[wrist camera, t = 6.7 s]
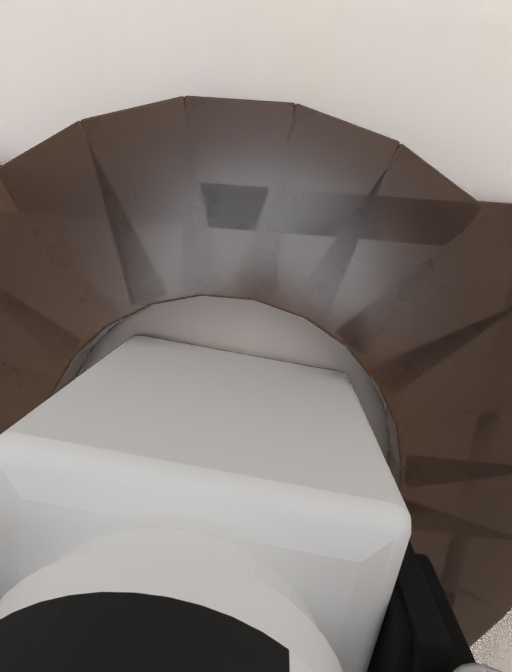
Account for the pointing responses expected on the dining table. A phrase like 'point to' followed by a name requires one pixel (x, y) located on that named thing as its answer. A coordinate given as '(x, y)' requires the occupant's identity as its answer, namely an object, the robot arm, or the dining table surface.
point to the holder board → (285, 286)
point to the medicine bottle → (196, 519)
